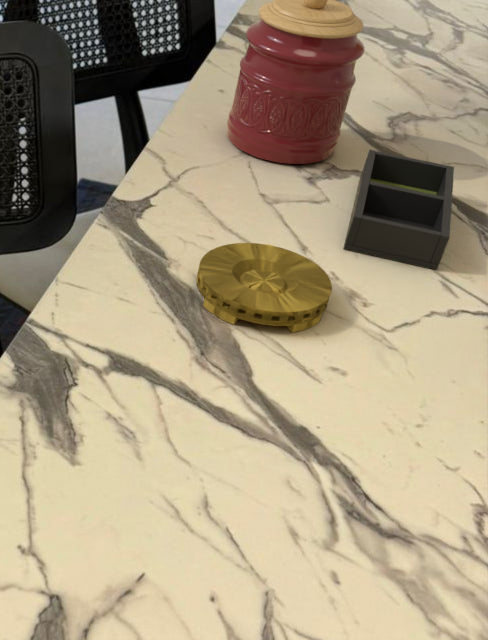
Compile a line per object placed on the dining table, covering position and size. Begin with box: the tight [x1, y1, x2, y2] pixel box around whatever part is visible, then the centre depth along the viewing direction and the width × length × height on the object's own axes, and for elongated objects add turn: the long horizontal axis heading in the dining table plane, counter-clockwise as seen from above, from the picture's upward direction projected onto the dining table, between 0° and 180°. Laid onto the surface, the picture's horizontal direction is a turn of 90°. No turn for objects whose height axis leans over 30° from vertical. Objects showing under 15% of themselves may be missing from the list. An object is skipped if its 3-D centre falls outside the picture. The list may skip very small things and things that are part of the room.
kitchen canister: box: [226, 0, 365, 165], centre depth 115 cm, size 13×13×18 cm
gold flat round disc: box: [195, 242, 333, 333], centre depth 93 cm, size 12×12×2 cm
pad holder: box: [343, 149, 455, 271], centre depth 106 cm, size 9×17×4 cm, turn 160°
